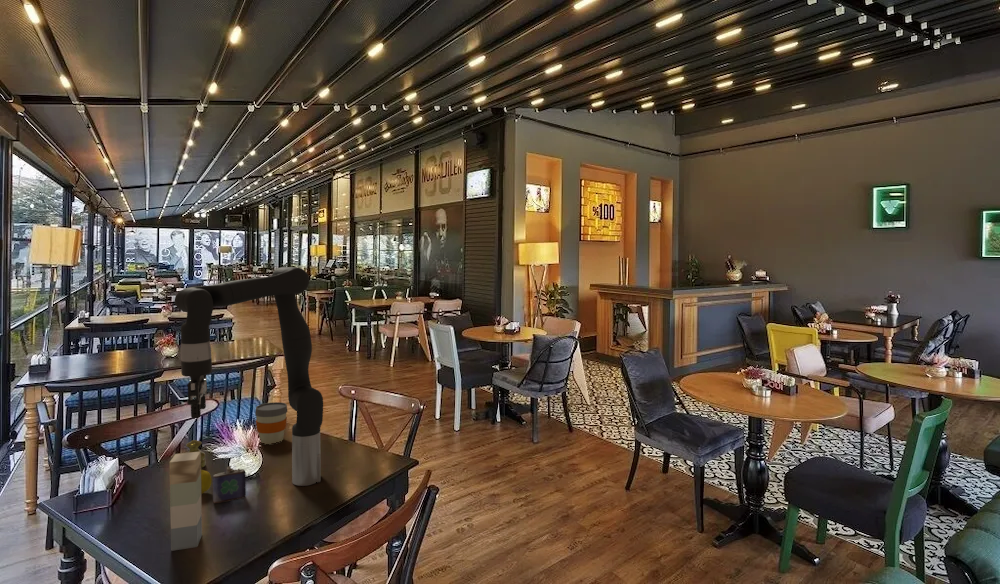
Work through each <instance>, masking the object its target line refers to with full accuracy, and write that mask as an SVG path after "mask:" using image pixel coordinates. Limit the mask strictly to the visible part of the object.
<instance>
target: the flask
mask: <svg viewBox="0 0 1000 584" xmlns="http://www.w3.org/2000/svg"><path fill="white" fill-rule="evenodd" d="M246 493H247V492H246V470H245V469H243V468H241V469H240V468H237V469H234V468H232V465H229V466H226V471H223V472H218V473H216V474H213V476H212V502H213V504H222V503H225V502H230V501H235V500H241V499H244V498H246Z"/></svg>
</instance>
